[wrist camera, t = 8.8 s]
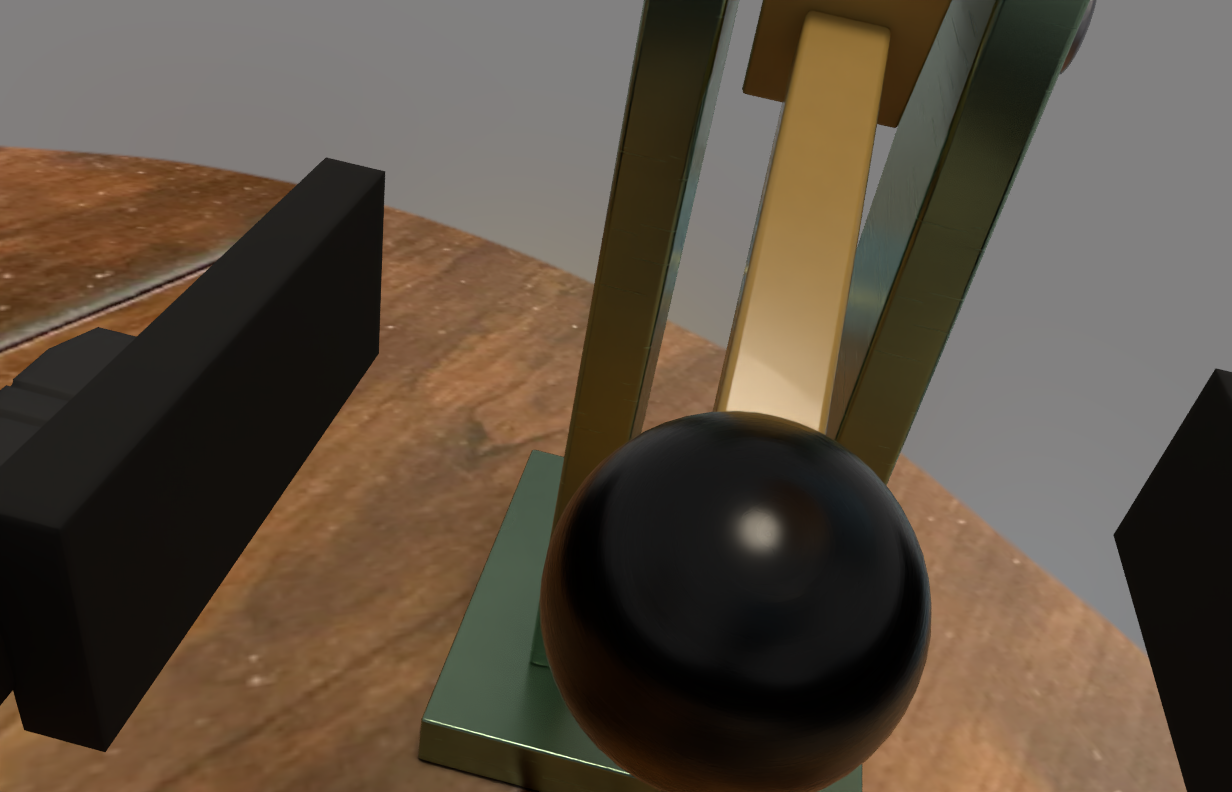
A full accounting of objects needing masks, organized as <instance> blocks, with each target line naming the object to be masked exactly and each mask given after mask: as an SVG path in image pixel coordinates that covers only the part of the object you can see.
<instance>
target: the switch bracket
mask: <svg viewBox="0 0 1232 792" xmlns="http://www.w3.org/2000/svg"><path fill="white" fill-rule="evenodd" d="M738 3H739V0H644V4H643V10H642V16H641V21H640V27H639V32H638V38H637V43H636V49H635V55H634V61H633V66H632V73H631V78H630V83H629V89H628V95H627V101H626V106H625V113H624V118H623V124H622V129H621V135H620V141H619V147H618V152H617V158H616V164H615V169H614V175H613V181H612V187H611V192H610V199H609V204H608V209H607V216H606V221H605V227H604V233H603V238H602V244H601V250H600V255H599V262H598V267H597V273H596V278H595V284H594V290H593V295H592V301H591V307H590V313H589V318H588V324H587V330H586V336H585V341H584V347H583V353H582V358H581V364H580V370H579V376H578V381H577V387H576V393H575V399H574V404H573V410H572V416H571V421H570V427H569V433H568V439H567V444H566V450H565V456H564V457H562V456H558V455H554V454H550V453H546V452H542V451H538V450H532V452H531V454H530V457H529V459H528V461H527V464H526V466H525V469H524V471H523V474H522V476H521V478H520V481H519V483H518V486H517V488H516V491H515V493H514V495H513V498H512V500H511V503H510V505H509V508H508V510H507V512H506V515H505V517H504V520H503V522H502V525H501V527H500V530H499V532H498V534H497V537H496V539H495V542H494V544H493V547H492V549H491V551H490V554H489V556H488V559H487V561H486V564H485V566H484V568H483V571H482V573H481V576H480V578H479V581H478V583H477V585H476V588H475V590H474V593H473V595H472V598H471V600H470V603H469V605H468V607H467V610H466V612H465V615H464V617H463V620H462V622H461V624H460V627H459V629H458V632H457V634H456V637H455V639H454V641H453V644H452V646H451V649H450V651H449V654H448V656H447V658H446V661H445V663H444V666H443V668H442V671H441V673H440V675H439V678H438V680H437V683H436V685H435V688H434V690H433V693H432V695H431V697H430V700H429V702H428V705H427V707H426V710H425V712H424V714H423V717H422V719H421V731H420V742H419V754H418V756H419V758H420V759H422V760H425V761H429V762H433V763H437V764H440V765H444V766H448V767H452V768H455V769H459V770H463V771H466V772H470V773H474V774H478V775H481V776H485V777H489V778H492V779H496V780H500V781H504V782H507V783H511V784H515V785H518V786H522V787H526V788H530V789H533V790H537V791H541V792H661V791H659V790H657V789H655V788H653V787H651V786H649V785H647V784H645V783H643V782H641V781H640V780H638V779H637V778H635V777H634V776H632V775H631V774H629V773H628V772H626V771H625V770H623V769H622V768H620V767H619V766H618V765H616V764H615V763H614V762H613V761H612V760H611V759H610V758H609V757H607V756H606V755H605V754H604V753H603V752H602V751H601V750H600V749H598V748H597V746H596V745H595V744H594V743H593V742H592V741H591V739H590V738H589V737H588V736H587V735H586V734H585V733H584V731H583V730H582V729H581V728H580V726H579V725H578V723H577V722H576V720H575V719H574V717H573V716H572V714H571V713H570V711H569V710H568V708H567V707H566V705H565V703H564V701H563V699H562V697H561V695H560V692H559V690H558V688H557V686H556V684H555V682H554V679H553V676H552V673H551V670H550V667H549V664H548V661H547V657H546V652H545V647H544V642H543V637H542V632H541V623H540V605H539V601H540V589H541V578H542V573H543V569H544V564H545V559H546V555H547V550H548V546H549V543H550V541H551V538H552V535H553V533H554V530H555V527H556V524H557V523H558V521H559V519H560V517H561V515H562V513H563V511H564V509H565V508H566V506H567V504H568V502H569V501H570V499H571V498H572V496H573V495H574V494H575V492H576V491H577V490H578V488H579V487H580V485H581V484H582V483H583V481H584V480H585V478H586V477H587V476H588V475H589V474H590V473H591V472H592V471H593V470H594V469H595V468H596V467H597V466H598V465H599V464H600V463H601V462H602V461H603V460H604V459H605V458H607V457H608V456H609V455H610V454H612V453H613V452H614V451H615V450H617V449H618V448H619V447H621V446H622V445H623V444H625V443H626V442H628V441H630V440H631V439H633V438H635V437H636V436H638V435H640V434H641V431H642V427H643V422H644V418H645V413H646V409H647V405H648V400H649V396H650V391H651V387H652V383H653V378H654V374H655V369H656V365H657V361H658V356H659V352H660V347H661V343H662V339H663V334H664V330H665V325H666V321H667V317H668V312H669V308H670V303H671V299H672V295H673V290H674V286H675V281H676V277H677V272H678V268H679V264H680V259H681V255H682V250H683V245H684V242H685V237H686V233H687V228H688V224H689V219H690V215H691V210H692V206H693V202H694V198H695V193H696V189H697V184H698V180H699V175H700V171H701V167H702V162H703V158H704V153H705V149H706V145H707V140H708V136H709V131H710V127H711V123H712V118H713V114H714V110H715V105H716V101H717V96H718V92H719V88H720V83H721V78H722V74H723V70H724V65H725V61H726V57H727V52H728V48H729V43H730V39H731V35H732V30H733V26H734V21H735V17H736V13H737V8H738ZM1095 5H1096V0H952V2H951V4H950V6H949V9H948V11H947V13H946V16H945V18H944V20H943V23H942V25H941V27H940V30H939V32H938V34H937V37H936V39H935V41H934V44H933V46H932V48H931V51H930V53H929V55H928V58H927V60H926V62H925V65H924V67H923V69H922V72H921V74H920V76H919V79H918V81H917V83H916V86H915V88H914V90H913V93H912V95H911V97H910V100H909V102H908V104H907V107H906V109H905V111H904V114H903V116H902V118H901V121H900V123H899V125H898V128H897V131H896V134H895V137H894V140H893V143H892V146H891V149H890V152H889V155H888V158H887V161H886V164H885V167H884V170H883V173H882V176H881V179H880V182H879V184H878V187H877V190H876V194H875V196H874V199H873V202H872V205H871V208H870V211H869V214H868V217H867V220H866V223H865V226H864V229H863V232H862V235H861V238H860V241H859V244H858V247H857V250H856V255H855V261H854V267H853V273H852V279H851V286H850V292H849V298H848V304H847V310H846V316H845V322H844V328H843V334H842V341H841V347H840V353H839V359H838V365H837V371H836V377H835V383H834V390H833V396H832V402H831V408H830V414H829V420H828V426H827V432H826V436H828V437H830V438H831V439H833V440H835V441H837V442H838V443H840V444H841V445H843V446H844V447H845V448H847V449H848V450H850V451H851V452H852V453H854V454H855V455H856V456H858V457H859V458H860V459H861V460H862V461H863V462H864V463H865V464H866V465H867V466H868V467H870V468H871V469H872V470H873V471H874V472H875V473H876V475H877V476H878V477H879V478H880V479H881V480H882V481H883V483H884V484H885V485H887V483H888V481H889V478H890V476H891V473H892V471H893V469H894V466H895V464H896V462H897V459H898V457H899V454H900V452H901V450H902V447H903V445H904V442H905V440H906V438H907V435H908V433H909V431H910V428H911V425H912V423H913V421H914V419H915V416H916V414H917V412H918V409H919V407H920V404H921V402H922V400H923V397H924V395H925V393H926V390H927V388H928V385H929V383H930V381H931V378H932V376H933V374H934V371H935V369H936V366H937V364H938V362H939V359H940V357H941V354H942V352H943V350H944V347H945V345H946V343H947V340H948V338H949V335H950V333H951V331H952V328H953V326H954V324H955V321H956V319H957V316H958V314H959V312H960V309H961V307H962V304H963V302H964V300H965V297H966V295H967V293H968V290H969V288H970V285H971V283H972V281H973V278H974V276H975V274H976V271H977V269H978V266H979V264H980V261H981V259H982V257H983V254H984V252H985V250H986V247H987V245H988V242H989V240H990V238H991V235H992V233H993V231H994V228H995V226H996V224H997V221H998V219H999V216H1000V214H1001V212H1002V209H1003V207H1004V204H1005V202H1006V200H1007V197H1008V195H1009V193H1010V190H1011V188H1012V186H1013V183H1014V181H1015V178H1016V176H1017V174H1018V171H1019V169H1020V166H1021V164H1022V161H1023V159H1024V157H1025V154H1026V152H1027V150H1028V147H1029V145H1030V143H1031V140H1032V138H1033V136H1034V133H1035V131H1036V128H1037V126H1038V124H1039V121H1040V119H1041V116H1042V114H1043V112H1044V109H1045V107H1046V104H1047V102H1048V100H1049V97H1050V95H1051V93H1052V90H1053V88H1054V85H1055V83H1056V81H1057V78H1058V76H1059V75H1060V74H1062V73H1063V72H1064V71H1065V70H1066V69H1067V67H1068V66H1069V65H1070V63H1071V62H1072V60H1073V59H1074V57H1075V55H1076V54H1077V52H1078V50H1079V48H1080V46H1081V44H1082V42H1083V40H1084V37H1085V35H1086V32H1087V30H1088V27H1089V25H1090V21H1091V18H1092V15H1093V12H1094V8H1095ZM817 792H862V764H861V765H860V766H858V767H857V768H856V769H855V770H853V771H852V772H851V773H850V774H848V775H847V776H845V777H844V778H842V779H840V780H839V781H837V782H835V783H833V784H832V785H830V786H828V787H826V788H825V789H822V790H820V791H817Z"/></svg>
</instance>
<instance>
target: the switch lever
mask: <svg viewBox="0 0 1232 792" xmlns="http://www.w3.org/2000/svg"><path fill="white" fill-rule="evenodd" d="M951 2H952V0H763V3H762V7H761V12H760V16H759V20H758V24H757V29H756V33H755V37H754V41H753V45H752V50H751V54H750V59H749V63H748V67H747V71H746V76H745V80H744V84H743V88H742V90H743V93H745V94H748V95H752V96H757V97H761V98H766V99H770V100H774V101H779V102H782V106H781V111H780V115H779V120H778V125H777V129H776V133H775V138H774V142H773V146H772V151H771V155H770V160H769V164H768V169H767V173H766V177H765V182H764V187H763V191H762V195H761V200H760V204H759V208H758V213H757V217H756V222H755V226H754V231H753V235H752V240H751V244H750V248H749V253H748V257H747V262H746V267H745V271H744V275H743V279H742V284H741V289H740V293H739V297H738V302H737V306H736V310H735V315H734V319H733V324H732V328H731V333H730V337H729V342H728V346H727V350H726V355H725V359H724V364H723V368H722V373H721V377H720V381H719V386H718V390H717V395H716V399H715V404H714V408H713V412H709V413H703V414H697V415H691V416H685V417H682V418H679V419H675V420H672V421H669V422H665V423H663V424H661V425H658V426H656V427H654V428H651V429H649V430H647V431H645V432H643V433H641V434H640V435H638V436H636V437H635V438H633V439H631V440H630V441H628V442H626V443H625V444H623V445H622V446H621V447H619V448H618V449H617V450H615V451H614V452H613V453H612V454H610V455H609V456H608V457H607V458H605V459H604V460H603V461H602V462H601V463H600V464H599V465H598V466H597V467H596V468H595V469H594V470H593V471H592V472H591V473H590V474H589V475H588V476H587V477H586V478H585V480H584V481H583V483H582V484H581V485H580V487H579V488H578V490H577V491H576V492H575V494H574V495H573V496H572V498H571V499H570V501H569V502H568V504H567V506H566V508H565V509H564V511H563V513H562V515H561V517H560V519H559V521H558V523H557V524H556V527H555V530H554V533H553V535H552V538H551V541H550V543H549V546H548V550H547V555H546V559H545V564H544V569H543V573H542V578H541V589H540V601H539V605H540V623H541V632H542V637H543V642H544V647H545V652H546V657H547V661H548V664H549V667H550V670H551V673H552V676H553V679H554V682H555V684H556V686H557V688H558V690H559V692H560V695H561V697H562V699H563V701H564V703H565V705H566V707H567V708H568V710H569V711H570V713H571V714H572V716H573V717H574V719H575V720H576V722H577V723H578V725H579V726H580V728H581V729H582V730H583V731H584V733H585V734H586V735H587V736H588V737H589V738H590V739H591V741H592V742H593V743H594V744H595V745H596V746H597V748H598V749H600V750H601V751H602V752H603V753H604V754H605V755H606V756H607V757H609V758H610V759H611V760H612V761H613V762H614V763H615V764H616V765H618V766H619V767H620V768H622V769H623V770H625V771H626V772H628V773H629V774H631V775H632V776H634V777H635V778H637V779H638V780H640V781H641V782H643V783H645V784H647V785H649V786H651V787H653V788H655V789H657V790H659V791H661V792H817V791H820V790H822V789H825V788H826V787H828V786H830V785H832V784H833V783H835V782H837V781H839V780H840V779H842V778H844V777H845V776H847V775H848V774H850V773H851V772H852V771H853V770H855V769H856V768H857V767H858V766H860V765H861V764H862V763H863V762H865V761H866V760H867V759H868V758H869V757H870V756H871V755H872V754H873V753H874V752H875V751H876V750H877V749H878V748H879V747H880V746H881V744H882V743H883V742H884V741H885V740H886V739H887V738H888V737H889V736H890V735H891V733H892V732H893V730H894V729H895V728H896V726H897V725H898V723H899V722H900V720H901V719H902V717H903V716H904V714H905V712H906V710H907V708H908V706H909V704H910V702H911V700H912V698H913V696H914V694H915V692H916V689H917V687H918V684H919V682H920V678H921V675H922V672H923V669H924V666H925V663H926V660H927V654H928V648H929V642H930V636H931V596H930V586H929V578H928V573H927V569H926V565H925V561H924V556H923V553H922V551H921V548H920V545H919V543H918V540H917V537H916V535H915V532H914V530H913V528H912V527H911V525H910V523H909V521H908V519H907V517H906V515H905V513H904V511H903V509H902V507H901V506H900V504H899V503H898V502H897V500H896V499H895V497H894V496H893V494H892V493H891V491H890V490H889V488H888V487H887V486H886V485H885V484H884V483H883V481H882V480H881V479H880V478H879V477H878V476H877V475H876V473H875V472H874V471H873V470H872V469H871V468H870V467H868V466H867V465H866V464H865V463H864V462H863V461H862V460H861V459H860V458H859V457H858V456H856V455H855V454H854V453H852V452H851V451H850V450H848V449H847V448H845V447H844V446H843V445H841V444H840V443H838V442H837V441H835V440H833V439H831V438H830V437H828V436H826V432H827V426H828V420H829V414H830V408H831V402H832V396H833V390H834V383H835V377H836V371H837V365H838V359H839V353H840V347H841V341H842V334H843V328H844V322H845V316H846V310H847V304H848V298H849V292H850V286H851V279H852V273H853V267H854V261H855V255H856V249H857V243H858V236H859V230H860V224H861V218H862V212H863V206H864V200H865V194H866V187H867V182H868V175H869V168H870V163H871V157H872V151H873V145H874V138H875V132H876V127H877V124H879V125H884V126H888V127H893V128H896V127H897V126H898V125H899V123H900V121H901V118H902V116H903V114H904V111H905V109H906V107H907V104H908V102H909V100H910V97H911V95H912V93H913V90H914V88H915V86H916V83H917V81H918V79H919V76H920V74H921V72H922V69H923V67H924V65H925V62H926V60H927V58H928V55H929V53H930V51H931V48H932V46H933V44H934V41H935V39H936V37H937V34H938V32H939V30H940V27H941V25H942V23H943V20H944V18H945V16H946V13H947V11H948V9H949V6H950V4H951Z"/></svg>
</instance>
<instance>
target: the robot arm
mask: <svg viewBox="0 0 1232 792" xmlns="http://www.w3.org/2000/svg"><path fill="white" fill-rule="evenodd" d="M384 190H385V171H381V170H377V169H372V168H368V167H364V166H360V165H355V164H351V163H347V162H343V161H339V160H334V159H330V158H325V159H324V160H323V161H322V162H321V163H320V164H319V165H317V166H316V167H315V168H314V169H313V170H312V171H311V172H310V173H309V174H308V175H307V176H306V177H305V178H304V179H303V180H302V181H301V182H300V183H299V184H297V185H296V186H295V187H294V188H293V189H292V190H291V191H290V192H289V193H288V194H287V195H286V196H285V197H284V198H283V199H282V200H281V201H280V202H278V203H277V204H276V205H275V206H274V207H273V208H272V209H271V210H270V211H269V212H268V213H267V214H266V215H265V216H264V217H263V218H262V219H261V220H259V221H258V222H257V223H256V224H255V225H254V226H253V227H252V228H251V229H250V230H249V231H248V232H247V233H246V234H245V235H244V236H243V237H242V238H241V239H239V240H238V241H237V242H236V243H235V244H234V245H233V246H232V247H231V248H230V249H229V250H228V251H227V252H226V253H225V254H224V255H223V256H222V257H220V258H219V259H218V260H217V261H216V262H215V263H214V264H213V265H212V266H211V267H210V268H209V269H208V270H207V271H206V272H205V273H204V274H203V275H202V276H200V277H199V278H198V279H197V280H196V281H195V282H194V283H193V284H192V285H191V286H190V287H189V288H188V289H187V290H186V291H185V292H184V293H183V294H181V295H180V296H179V297H178V298H177V299H176V300H175V301H174V302H173V303H172V304H171V305H170V306H169V307H168V308H167V309H166V310H165V311H164V312H162V313H161V314H160V315H159V316H158V317H157V318H156V319H155V320H154V321H153V322H152V323H151V324H150V325H149V326H148V327H147V328H146V329H145V330H144V331H142V332H141V333H140V334H139V335H138V336H137V337H135V336H131V335H127V334H123V333H119V332H115V331H111V330H107V329H103V328H99V327H97V328H95V329H93V330H91V331H88V332H86V333H84V334H81V335H79V336H77V337H75V338H72V339H70V340H68V341H65V342H63V343H61V344H59V345H56V346H54V347H52V348H49V349H48V350H47V351H45V352H44V353H43V354H42V355H41V356H40V357H39V358H37V359H36V360H35V361H34V362H33V363H32V364H30V365H29V366H28V367H27V368H26V369H25V370H23V371H22V372H21V373H20V374H19V375H18V376H16V377H15V378H14V379H13V384H12V385H11V387H10V386H5V387H4V388H2V389H1V390H0V705H1V704H2V703H3V701H4V700H5V699H6V698H7V697H8V695H9V694H10V693H11V692H12V690H13V692H14V695H15V699H16V703H17V706H18V710H19V713H20V717H21V721H22V724H23V728H24V730H26V731H30V732H33V733H37V734H41V735H44V736H48V737H52V738H55V739H59V740H63V741H66V742H70V743H74V744H77V745H81V746H85V747H88V748H92V749H96V750H99V751H103V752H106V750H107V749H108V748H109V746H110V745H111V743H112V742H113V740H114V739H115V737H116V736H117V734H118V733H119V732H120V730H121V729H122V727H123V726H124V724H125V723H126V721H127V720H128V718H129V717H130V715H131V714H132V713H133V711H134V710H135V708H136V707H137V705H138V704H139V702H140V701H141V699H142V698H143V697H144V695H145V694H146V692H147V691H148V689H149V688H150V686H151V685H152V683H153V682H154V680H155V679H156V678H157V676H158V675H159V673H160V672H161V670H162V669H163V667H164V666H165V664H166V663H167V662H168V660H169V659H170V657H171V656H172V654H173V653H174V651H175V650H176V648H177V647H178V645H179V644H180V643H181V641H182V640H183V638H184V637H185V635H186V634H187V632H188V631H189V629H190V628H191V626H192V625H193V624H194V622H195V621H196V619H197V618H198V616H199V615H200V613H201V612H202V610H203V609H204V608H205V606H206V605H207V603H208V602H209V600H210V599H211V597H212V596H213V594H214V593H215V591H216V590H217V589H218V587H219V586H220V584H221V583H222V581H223V580H224V578H225V577H226V575H227V574H228V573H229V571H230V570H231V568H232V567H233V565H234V564H235V562H236V561H237V559H238V558H239V556H240V555H241V554H242V552H243V551H244V549H245V548H246V546H247V545H248V543H249V542H250V540H251V539H252V537H253V536H254V535H255V533H256V532H257V530H258V529H259V527H260V526H261V524H262V523H263V521H264V520H265V519H266V517H267V516H268V514H269V513H270V511H271V510H272V508H273V507H274V505H275V504H276V502H277V501H278V500H279V498H280V497H281V495H282V494H283V492H284V491H285V489H286V488H287V486H288V485H289V484H290V482H291V481H292V479H293V478H294V476H295V475H296V473H297V472H298V470H299V469H300V467H301V466H302V465H303V463H304V462H305V460H306V459H307V457H308V456H309V454H310V453H311V451H312V450H313V448H314V447H315V446H316V444H317V443H318V441H319V440H320V438H321V437H322V435H323V434H324V432H325V431H326V430H327V428H328V427H329V425H330V424H331V422H332V421H333V419H334V418H335V416H336V415H337V413H338V412H339V411H340V409H341V408H342V406H343V405H344V403H345V402H346V400H347V399H348V397H349V396H350V395H351V393H352V392H353V390H354V389H355V387H356V386H357V384H358V383H359V381H360V380H361V378H362V377H363V376H364V374H365V373H366V371H367V370H368V368H369V367H370V365H371V364H372V362H373V361H374V360H375V358H376V357H377V355H378V354H379V331H380V303H381V274H382V246H383V218H384ZM1114 538H1115V542H1116V545H1117V549H1118V552H1119V556H1120V559H1121V563H1122V566H1123V570H1124V573H1125V577H1126V580H1127V584H1128V587H1129V591H1130V594H1131V598H1132V601H1133V605H1134V608H1135V612H1136V615H1137V618H1138V622H1139V626H1140V629H1141V632H1142V636H1143V640H1144V643H1145V647H1146V650H1147V654H1148V657H1149V661H1150V664H1151V667H1152V671H1153V674H1154V678H1155V681H1156V685H1157V688H1158V692H1159V695H1160V699H1161V702H1162V706H1163V709H1164V713H1165V716H1166V720H1167V723H1168V727H1169V730H1170V734H1171V737H1172V741H1173V744H1174V748H1175V751H1176V755H1177V758H1178V762H1179V765H1180V769H1181V772H1182V776H1183V779H1184V783H1185V786H1186V790H1187V792H1232V372H1228V371H1224V370H1220V369H1215V370H1214V372H1213V374H1212V375H1211V377H1210V378H1209V380H1208V382H1207V384H1206V385H1205V387H1204V388H1203V390H1202V392H1201V393H1200V395H1199V396H1198V398H1197V400H1196V401H1195V403H1194V405H1193V406H1192V408H1191V409H1190V411H1189V413H1188V414H1187V416H1186V418H1185V419H1184V421H1183V423H1182V424H1181V426H1180V427H1179V429H1178V431H1177V432H1176V434H1175V436H1174V437H1173V439H1172V440H1171V442H1170V444H1169V445H1168V447H1167V449H1166V450H1165V452H1164V454H1163V455H1162V457H1161V458H1160V460H1159V462H1158V463H1157V465H1156V467H1155V468H1154V470H1153V471H1152V473H1151V475H1150V476H1149V478H1148V480H1147V481H1146V483H1145V485H1144V486H1143V488H1142V489H1141V491H1140V493H1139V494H1138V496H1137V498H1136V499H1135V501H1134V503H1133V504H1132V506H1131V507H1130V509H1129V511H1128V513H1127V514H1126V516H1125V517H1124V519H1123V521H1122V522H1121V524H1120V525H1119V527H1118V529H1117V530H1116V532H1115V533H1114Z"/></svg>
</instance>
